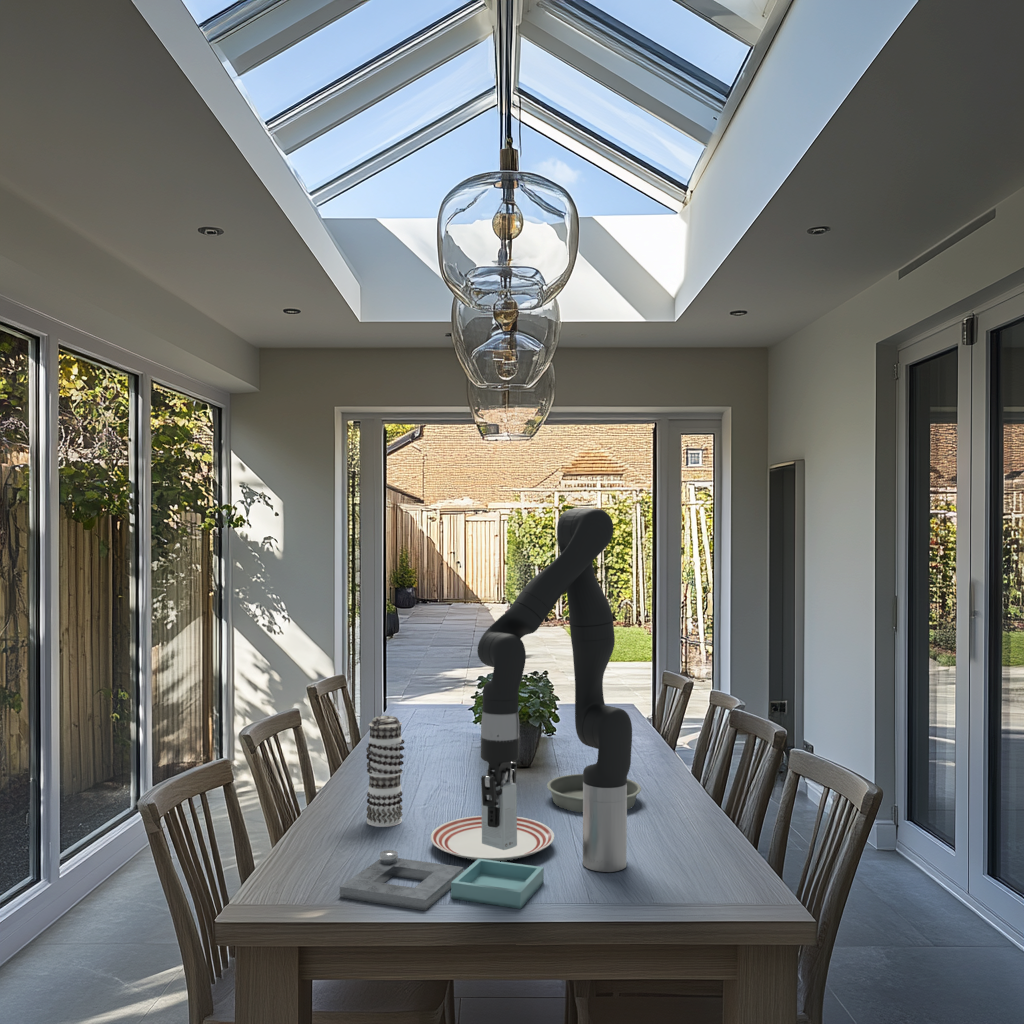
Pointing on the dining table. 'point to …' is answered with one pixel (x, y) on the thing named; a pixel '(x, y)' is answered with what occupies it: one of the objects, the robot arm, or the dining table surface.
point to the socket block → (421, 897)
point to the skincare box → (502, 820)
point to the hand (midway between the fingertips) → (499, 821)
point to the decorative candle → (384, 772)
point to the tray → (497, 883)
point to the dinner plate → (467, 843)
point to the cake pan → (581, 792)
